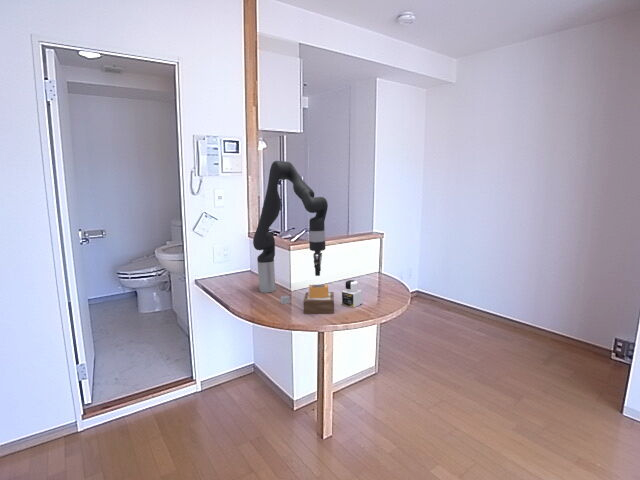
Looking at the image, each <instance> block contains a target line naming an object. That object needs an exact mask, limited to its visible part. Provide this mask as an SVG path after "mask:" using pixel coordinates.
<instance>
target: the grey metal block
mask: <svg viewBox="0 0 640 480" xmlns="http://www.w3.org/2000/svg"><path fill="white" fill-rule="evenodd" d="M280 303H281V304H282V305H286V304H287V303H288V304H291V298H290V296H289V295H283V296H280Z"/></svg>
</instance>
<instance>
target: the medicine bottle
mask: <svg viewBox="0 0 640 480" xmlns="http://www.w3.org/2000/svg"><path fill="white" fill-rule="evenodd" d="M362 295H363V292H362V289H359V282H358V281H357V280H354V279H351V280H346V281H345V290H342V291H341V302H342V304H341V305H343V306H345V307H349V308H356V307H358V306H360V304H361V305H362V304H363V299H362V297H363V296H362Z"/></svg>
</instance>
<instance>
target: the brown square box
mask: <svg viewBox="0 0 640 480" xmlns="http://www.w3.org/2000/svg"><path fill="white" fill-rule="evenodd" d="M334 293H335V292H334V291H328V297H326V298H310V295H309V291H307V292H305V294H304V297H303V298H304V299H303V314H304V315H324V314H325V315H327V314H328V315H329V314H335V296H334Z"/></svg>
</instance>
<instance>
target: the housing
mask: <svg viewBox="0 0 640 480" xmlns="http://www.w3.org/2000/svg"><path fill="white" fill-rule="evenodd" d="M308 287H309V288H308V290H309V291H308V292H309V295H310V298H326V297H328V292H329V284H327V283H325V284H309V285H308Z"/></svg>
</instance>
